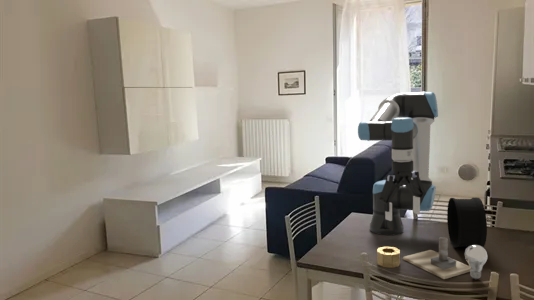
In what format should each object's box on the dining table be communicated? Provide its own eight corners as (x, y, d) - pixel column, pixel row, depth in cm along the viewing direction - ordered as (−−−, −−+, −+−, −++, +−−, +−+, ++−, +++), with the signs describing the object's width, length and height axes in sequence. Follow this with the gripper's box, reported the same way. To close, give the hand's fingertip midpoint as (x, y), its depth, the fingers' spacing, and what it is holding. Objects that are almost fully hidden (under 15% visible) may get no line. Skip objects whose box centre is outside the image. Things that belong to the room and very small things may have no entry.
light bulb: (462, 273, 147) (463, 240, 146) (484, 275, 145) (485, 242, 143) (465, 282, 141) (466, 248, 139) (489, 284, 139) (489, 249, 137)
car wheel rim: (486, 256, 161) (487, 205, 158) (458, 255, 163) (458, 205, 160) (472, 237, 180) (472, 192, 178) (447, 237, 182) (447, 192, 180)
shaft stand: (403, 259, 162) (402, 231, 160) (430, 252, 168) (430, 225, 166) (444, 279, 144) (444, 248, 142) (473, 270, 149) (473, 240, 148)
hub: (373, 261, 161) (373, 249, 161) (389, 257, 164) (389, 245, 164) (387, 269, 154) (387, 256, 153) (404, 264, 157) (404, 251, 156)
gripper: (382, 165, 145) (383, 225, 147) (435, 157, 155) (435, 213, 158) (368, 162, 151) (369, 220, 154) (419, 155, 162) (419, 208, 165)
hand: (402, 216), depth 156 cm, fingers open, 13 cm apart
